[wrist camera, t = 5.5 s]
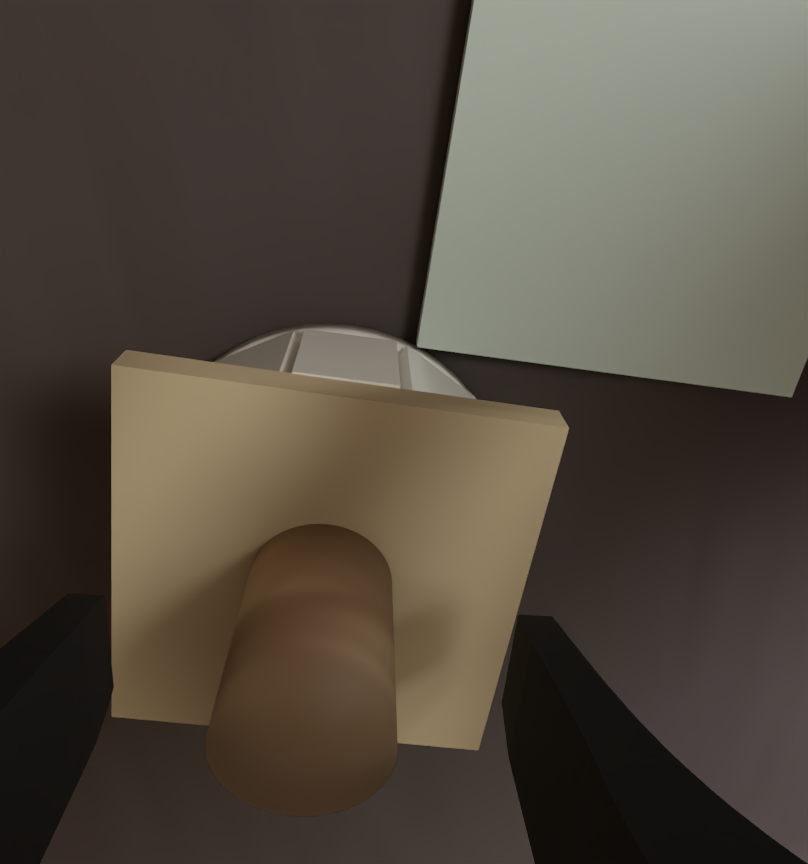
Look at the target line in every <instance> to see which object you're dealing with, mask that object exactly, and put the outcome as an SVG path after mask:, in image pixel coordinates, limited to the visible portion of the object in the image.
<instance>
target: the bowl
mask: <svg viewBox="0 0 808 864" xmlns="http://www.w3.org/2000/svg"><path fill="white" fill-rule="evenodd" d="M214 362H216V363H223V364H230V365H237V366H244V367H251V368H258V369H265V370H272V371H279V372H287V373H294V374H301V375H308V376H315V377H322V378H329V379H336V380H343V381H351V382H358V383H365V384H372V385H379V386H386V387H393V388H400V389H407V390H414V391H422V392H429V393H436V394H443V395H450V396H457V397H464V398H471V399H476V397H475V396H473V395H472V393H471V392H470V390H469V389H468V388H467V387H466V386H465V385H464V384H463V382H462V381H461V380H460V379H459V378H458V377H457V376H456V374H454V373H453V372H452V371H451V370H450V369H449V368H448V367H446V366H445V365H444V364H443V363H442V362H441V361H440V360H438V359H437V358H435V357H434V356H432V355H431V354H429V353H428V352H426V351H425V350H423V349H422V348H420V347H417V346H416V345H414V344H412V343H410V342H408V341H406V340H404V339H402V338H400V337H397V336H394V335H391V334H388V333H385V332H382V331H379V330H376V329H372V328H367V327H362V326H357V325H351V324H337V323H315V324H302V325H296V326H291V327H285V328H280V329H277V330H274V331H271V332H268V333H265V334H261V335H258V336H256V337H254V338H252V339H250V340H248V341H245V342H243V343H241V344H239V345H237V346H235V347H234V348H232V349H231V350H229V351H228V352H226V353H225V354H223V355H222V356H220V357H219V358H217V359H216V360H215V361H214Z"/></svg>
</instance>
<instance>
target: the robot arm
mask: <svg viewBox="0 0 808 864" xmlns="http://www.w3.org/2000/svg"><path fill="white" fill-rule="evenodd" d="M113 688H114V683H113V673H112V664H111V654H110V644H109V634H108V625H107V615H106V605H105V596H103V595H82V594H67V595H66V596H65V597H64V598H62V599H61V600H60V601H58V602H57V603H56V604H55V605H54V606H52V607H51V608H50V609H49V610H47V611H46V612H45V613H44V614H42V615H41V616H40V617H39V618H37V619H36V620H35V621H34V622H33V623H31V624H30V625H29V626H28V627H26V628H25V629H24V630H23V631H22V632H20V633H19V634H18V635H17V636H15V637H14V638H13V639H12V640H11V641H9V642H8V643H7V644H6V645H4V646H3V647H2V648H1V649H0V864H40V862H41V860H42V858H43V856H44V854H45V851H46V849H47V847H48V845H49V843H50V841H51V839H52V836H53V834H54V832H55V830H56V828H57V826H58V824H59V822H60V819H61V817H62V815H63V813H64V811H65V809H66V807H67V805H68V802H69V800H70V798H71V796H72V794H73V792H74V790H75V788H76V785H77V783H78V781H79V779H80V777H81V775H82V772H83V770H84V768H85V766H86V764H87V762H88V759H89V757H90V755H91V753H92V751H93V748H94V746H95V744H96V741H97V738H98V735H99V732H100V729H101V726H102V723H103V720H104V717H105V714H106V711H107V708H108V704H109V701H110V698H111V695H112V692H113ZM502 707H503V715H504V724H505V732H506V740H507V747H508V755H509V760H510V764H511V769H512V773H513V777H514V781H515V785H516V789H517V793H518V797H519V801H520V805H521V809H522V813H523V817H524V821H525V825H526V829H527V833H528V837H529V841H530V845H531V849H532V853H533V857H534V861H535V864H807V863H806V862H804V861H803V860H801V859H800V858H798V857H797V856H796V855H794V854H793V853H792V852H790V851H789V850H787V849H786V848H785V847H783V846H782V845H780V844H779V843H778V842H776V841H775V840H774V839H772V838H771V837H769V836H768V835H767V834H766V833H764V832H763V831H762V830H760V829H759V828H758V827H757V826H755V825H754V824H753V823H751V822H750V821H749V820H748V819H746V818H745V817H744V816H742V815H741V814H740V813H739V812H737V811H736V810H735V809H734V808H732V807H731V806H730V805H729V804H727V803H726V802H725V801H724V800H723V799H721V798H720V797H719V796H718V795H717V794H715V793H714V792H713V791H712V790H711V789H710V788H709V787H707V786H706V785H705V784H704V783H703V782H702V781H701V780H700V779H699V778H697V777H696V776H695V775H694V774H693V773H692V772H691V771H690V770H688V769H687V768H686V767H685V766H684V765H683V764H682V763H681V762H680V761H679V760H678V759H676V758H675V757H674V756H673V755H672V754H671V753H670V752H669V751H668V750H667V749H666V748H665V747H664V746H663V745H662V744H661V743H660V742H659V741H658V740H657V739H656V738H655V737H654V736H653V735H652V734H651V733H650V732H649V731H648V730H647V728H646V727H645V726H644V725H643V724H642V723H641V722H640V721H639V720H638V719H637V718H636V717H635V716H634V715H633V714H632V712H631V711H630V710H629V709H628V708H627V707H626V706H625V705H624V703H623V702H622V701H621V700H620V699H619V698H618V697H617V695H616V694H615V693H614V692H613V691H612V690H611V688H610V687H609V686H608V685H607V684H606V683H605V681H604V680H603V679H602V678H601V677H600V675H599V674H598V673H597V672H596V671H595V669H594V668H593V667H592V666H591V664H590V663H589V662H588V661H587V660H586V658H585V657H584V656H583V655H582V653H581V652H580V651H579V650H578V648H577V647H576V646H575V644H574V643H573V642H572V641H571V639H570V638H569V637H568V636H567V634H566V633H565V632H564V631H563V629H562V628H561V627H560V626H559V624H558V623H557V622H556V621H555V620H554V618H553V617H552V616H530V615H518V619H517V624H516V630H515V635H514V640H513V646H512V651H511V656H510V662H509V667H508V672H507V678H506V683H505V688H504V694H503V699H502Z"/></svg>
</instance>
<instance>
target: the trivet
mask: <svg viewBox="0 0 808 864" xmlns="http://www.w3.org/2000/svg"><path fill="white" fill-rule="evenodd" d="M416 345H417V347H420V348H427V349H434V350H442V351H449V352H457V353H464V354H472V355H479V356H487V357H494V358H501V359H509V360H516V361H524V362H531V363H539V364H546V365H554V366H561V367H569V368H576V369H583V370H591V371H598V372H606V373H613V374H621V375H628V376H636V377H643V378H651V379H658V380H665V381H673V382H680V383H688V384H695V385H703V386H710V387H718V388H725V389H733V390H740V391H747V392H755V393H762V394H770V395H777V396H785V397H792V396H793V393H794V391H795V388H796V386H797V383H798V381H799V378H800V376H801V373H802V371H803V368H804V365H805V363H806V360H807V358H808V0H472V3H471V9H470V16H469V22H468V28H467V34H466V40H465V46H464V52H463V58H462V64H461V70H460V76H459V83H458V89H457V95H456V101H455V107H454V113H453V119H452V125H451V131H450V137H449V143H448V150H447V156H446V162H445V168H444V174H443V180H442V186H441V192H440V198H439V204H438V210H437V216H436V223H435V229H434V235H433V241H432V247H431V253H430V259H429V265H428V271H427V277H426V283H425V290H424V296H423V302H422V308H421V314H420V320H419V326H418V332H417V338H416Z"/></svg>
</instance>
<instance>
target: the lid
mask: <svg viewBox="0 0 808 864" xmlns="http://www.w3.org/2000/svg"><path fill="white" fill-rule="evenodd" d="M568 430H569V427H568V425H567V424H566V422H565V420H564V419H563V417H562V415H561V414H560V412H559V411H557V410H550V409H542V408H535V407H528V406H521V405H514V404H507V403H500V402H493V401H486V400H478V399H471V398H464V397H457V396H450V395H443V394H436V393H429V392H422V391H414V390H407V389H400V388H393V387H386V386H379V385H372V384H365V383H358V382H351V381H343V380H336V379H329V378H322V377H315V376H308V375H301V374H294V373H287V372H279V371H272V370H265V369H258V368H251V367H244V366H237V365H230V364H223V363H216V362H208V361H201V360H194V359H187V358H180V357H173V356H166V355H159V354H152V353H144V352H137V351H130V350H126V351H125V352H124V353H123V354H122V355H121V356H120V357H119V358H118V359H117V360H116V361H115V362H114V363H113V364H112V365H111V580H112V673H113V683H114V688H113V692H112V717H120V718H131V719H141V720H152V721H163V722H174V723H185V724H196V725H207V726H208V730H207V734H206V741H205V752H206V757H207V761H208V764H209V766H210V769H211V771H212V772H213V774H214V776H215V777H216V779H217V780H218V781H219V782H220V784H221V785H222V786H223V787H224V788H225V789H226V790H227V791H229V792H230V793H231V794H232V795H234V796H235V797H236V798H238V799H240V800H241V801H243V802H245V803H247V804H248V805H251V806H253V807H255V808H258V809H261V810H264V811H267V812H270V813H275V814H279V815H286V816H297V817H309V816H321V815H327V814H332V813H336V812H340V811H343V810H345V809H348V808H351V807H353V806H355V805H357V804H359V803H361V802H363V801H364V800H366V799H368V798H369V797H370V796H372V795H373V794H374V793H375V792H377V791H378V790H379V789H380V788H381V787H382V786H383V785H384V783H385V782H386V781H387V779H388V778H389V776H390V775H391V773H392V771H393V769H394V766H395V763H396V760H397V752H398V743H403V744H414V745H425V746H436V747H447V748H458V749H469V750H479V746H480V743H481V739H482V735H483V732H484V728H485V725H486V721H487V718H488V714H489V711H490V707H491V703H492V700H493V696H494V693H495V689H496V686H497V682H498V679H499V675H500V672H501V668H502V664H503V661H504V657H505V654H506V650H507V647H508V643H509V640H510V636H511V633H512V629H513V625H514V622H515V618H516V615H517V611H518V608H519V604H520V601H521V597H522V594H523V590H524V586H525V583H526V579H527V576H528V572H529V569H530V565H531V562H532V558H533V555H534V551H535V547H536V544H537V540H538V537H539V533H540V530H541V526H542V523H543V519H544V516H545V512H546V508H547V505H548V501H549V498H550V494H551V491H552V487H553V484H554V480H555V477H556V473H557V469H558V466H559V462H560V459H561V455H562V452H563V448H564V445H565V441H566V438H567V434H568Z"/></svg>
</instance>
